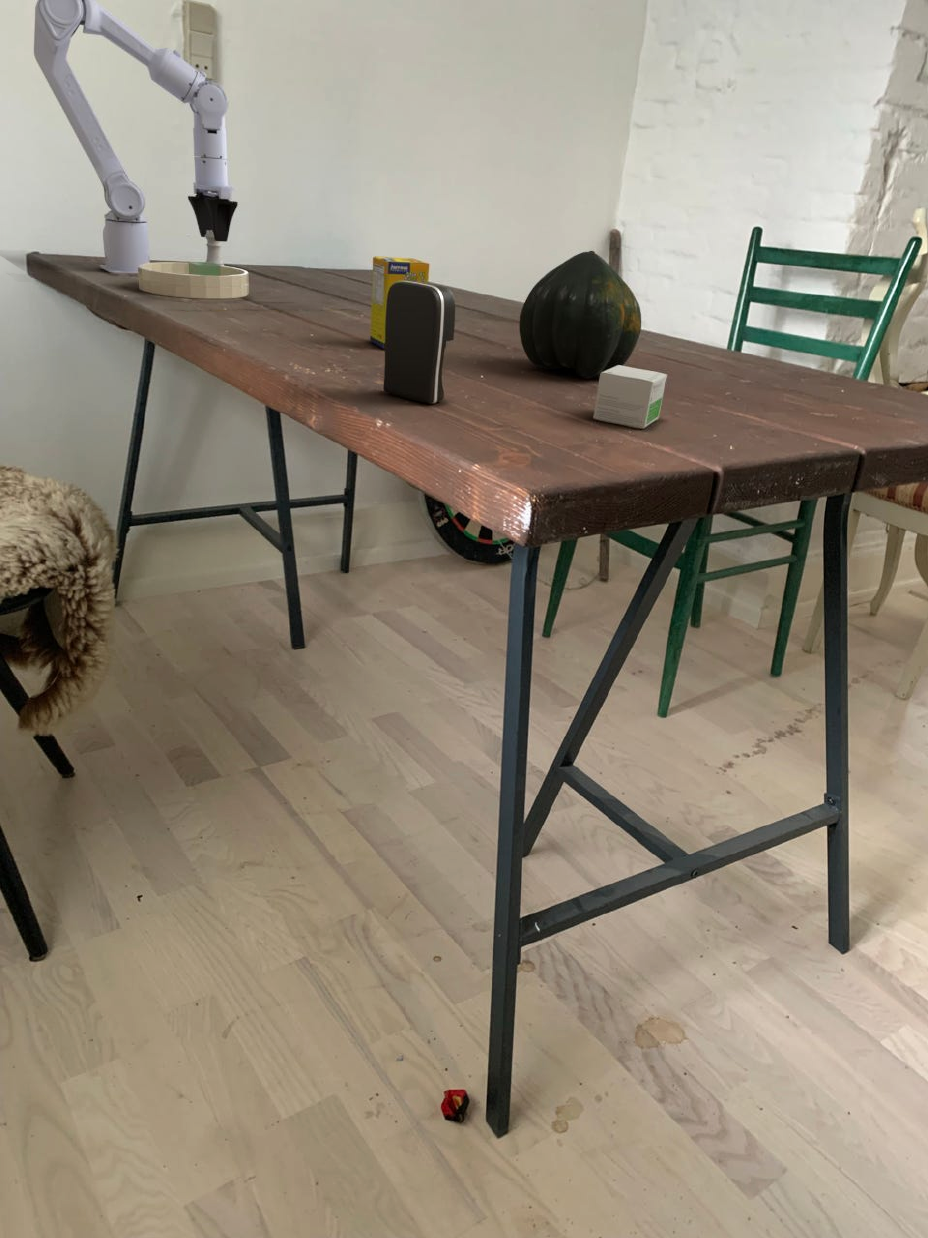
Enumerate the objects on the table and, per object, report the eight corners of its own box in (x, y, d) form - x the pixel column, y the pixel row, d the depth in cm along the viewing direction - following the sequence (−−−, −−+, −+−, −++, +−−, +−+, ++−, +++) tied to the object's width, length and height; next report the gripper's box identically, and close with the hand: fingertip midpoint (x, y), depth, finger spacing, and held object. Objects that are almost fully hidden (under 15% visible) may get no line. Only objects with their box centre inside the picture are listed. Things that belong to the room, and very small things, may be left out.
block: (189, 287, 152) (188, 261, 150) (212, 287, 154) (212, 262, 152) (197, 290, 149) (196, 264, 147) (221, 290, 151) (220, 265, 149)
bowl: (126, 286, 151) (124, 260, 149) (226, 287, 160) (225, 263, 158) (158, 302, 138) (156, 274, 136) (264, 302, 147) (264, 276, 146)
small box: (645, 430, 91) (653, 380, 89) (591, 419, 93) (598, 371, 91) (660, 419, 95) (669, 372, 93) (608, 410, 97) (616, 363, 95)
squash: (565, 340, 103) (636, 236, 104) (479, 323, 113) (545, 228, 114) (617, 416, 113) (681, 319, 114) (534, 394, 123) (594, 306, 124)
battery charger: (454, 401, 95) (463, 286, 90) (430, 406, 92) (438, 287, 87) (403, 388, 99) (410, 277, 94) (380, 392, 96) (385, 278, 91)
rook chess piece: (200, 274, 174) (198, 229, 170) (224, 275, 175) (222, 230, 172) (205, 277, 170) (203, 231, 167) (229, 278, 172) (227, 232, 168)
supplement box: (425, 350, 120) (430, 262, 116) (382, 349, 118) (385, 260, 113) (411, 342, 125) (415, 257, 121) (369, 341, 123) (372, 255, 118)
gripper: (246, 161, 161) (248, 243, 167) (218, 158, 171) (220, 235, 177) (208, 158, 157) (211, 242, 163) (181, 155, 168) (185, 234, 174)
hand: (213, 239), depth 170 cm, fingers open, 7 cm apart
